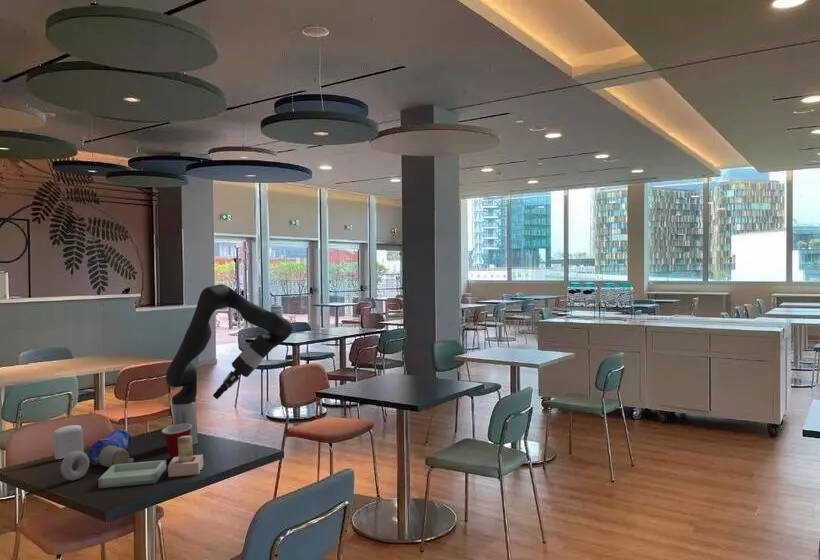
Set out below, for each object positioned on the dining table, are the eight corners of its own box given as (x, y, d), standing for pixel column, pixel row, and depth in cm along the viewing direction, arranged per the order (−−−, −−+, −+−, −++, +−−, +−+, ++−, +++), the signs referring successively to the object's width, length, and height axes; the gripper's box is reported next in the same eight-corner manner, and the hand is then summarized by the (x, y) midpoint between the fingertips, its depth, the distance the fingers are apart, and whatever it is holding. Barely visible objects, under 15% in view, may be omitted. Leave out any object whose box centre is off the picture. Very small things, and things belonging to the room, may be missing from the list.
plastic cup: (156, 461, 230) (155, 429, 229) (179, 453, 239) (178, 422, 239) (177, 464, 225) (175, 432, 224) (199, 456, 234) (198, 424, 234)
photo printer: (56, 461, 235) (55, 429, 235) (53, 459, 238) (51, 428, 238) (85, 455, 242) (83, 424, 242) (81, 453, 245) (79, 422, 245)
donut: (85, 474, 217) (84, 446, 217) (92, 475, 216) (90, 447, 215) (59, 484, 208) (57, 454, 208) (65, 485, 207) (64, 455, 206)
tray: (113, 472, 218) (112, 464, 218) (166, 468, 221) (166, 459, 221) (98, 488, 202) (98, 479, 202) (155, 482, 205) (155, 473, 205)
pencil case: (110, 466, 226) (108, 440, 226) (86, 467, 226) (84, 442, 226) (133, 449, 248) (132, 425, 248) (111, 450, 248) (110, 427, 248)
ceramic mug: (113, 471, 219) (112, 450, 219) (98, 469, 223) (98, 448, 223) (138, 463, 228) (138, 443, 228) (124, 461, 232) (124, 440, 232)
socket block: (174, 468, 220) (174, 457, 220) (203, 465, 222) (202, 454, 222) (168, 477, 210) (167, 465, 210) (198, 474, 212) (198, 462, 212)
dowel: (180, 469, 218) (179, 436, 218) (194, 468, 219) (193, 435, 219) (177, 474, 213) (176, 439, 213) (192, 472, 214) (190, 438, 214)
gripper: (242, 351, 226) (211, 384, 224) (238, 356, 212) (205, 392, 210) (257, 364, 227) (227, 398, 225) (254, 370, 213) (222, 406, 211)
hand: (216, 395), depth 218 cm, fingers open, 8 cm apart
